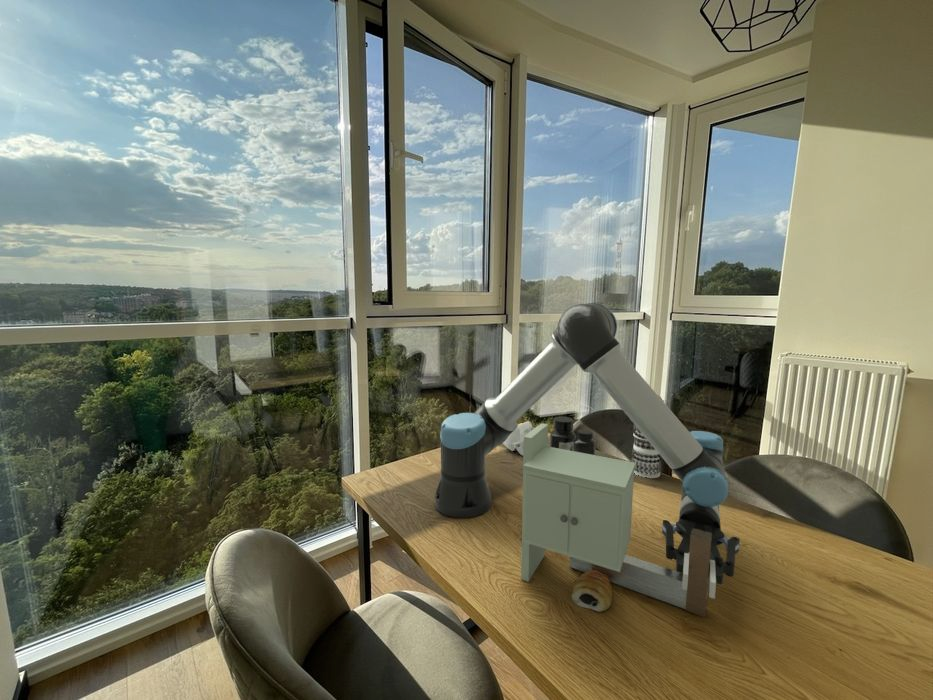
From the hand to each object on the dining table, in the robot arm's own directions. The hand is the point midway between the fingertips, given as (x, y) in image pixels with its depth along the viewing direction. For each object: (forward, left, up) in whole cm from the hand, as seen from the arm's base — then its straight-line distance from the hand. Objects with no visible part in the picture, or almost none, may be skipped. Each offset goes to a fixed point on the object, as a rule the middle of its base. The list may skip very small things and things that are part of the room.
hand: (698, 585), depth 67 cm
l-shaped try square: (-11, +6, -8) cm, 15 cm away
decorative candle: (-15, +64, -9) cm, 66 cm away
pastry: (-17, 0, -9) cm, 19 cm away
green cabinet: (-20, 0, -8) cm, 22 cm away
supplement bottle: (-33, +58, -9) cm, 67 cm away
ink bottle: (-43, +68, -9) cm, 81 cm away
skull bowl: (-56, +61, -9) cm, 84 cm away
